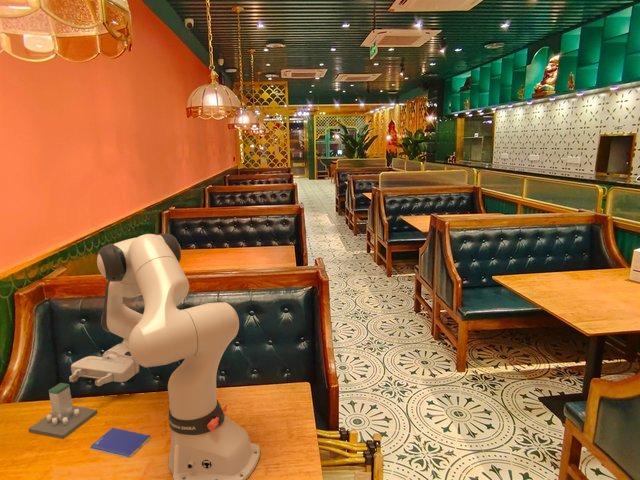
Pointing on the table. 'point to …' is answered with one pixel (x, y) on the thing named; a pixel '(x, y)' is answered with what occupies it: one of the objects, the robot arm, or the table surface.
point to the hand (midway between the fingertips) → (83, 381)
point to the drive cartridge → (61, 402)
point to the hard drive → (120, 442)
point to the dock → (58, 430)
